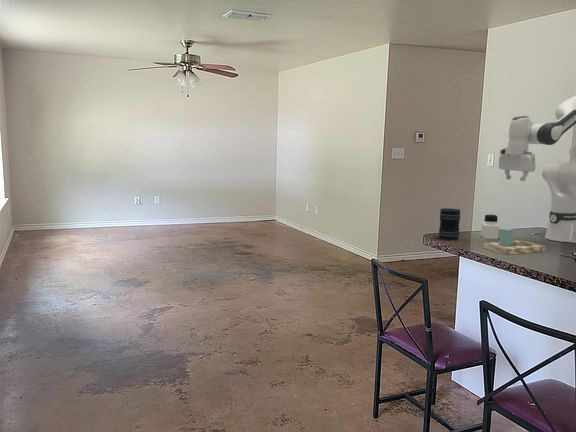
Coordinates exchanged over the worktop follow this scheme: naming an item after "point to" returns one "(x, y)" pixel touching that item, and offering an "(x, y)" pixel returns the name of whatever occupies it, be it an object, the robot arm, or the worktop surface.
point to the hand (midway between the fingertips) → (515, 180)
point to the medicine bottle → (490, 227)
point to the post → (506, 237)
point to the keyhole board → (515, 247)
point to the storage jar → (449, 224)
